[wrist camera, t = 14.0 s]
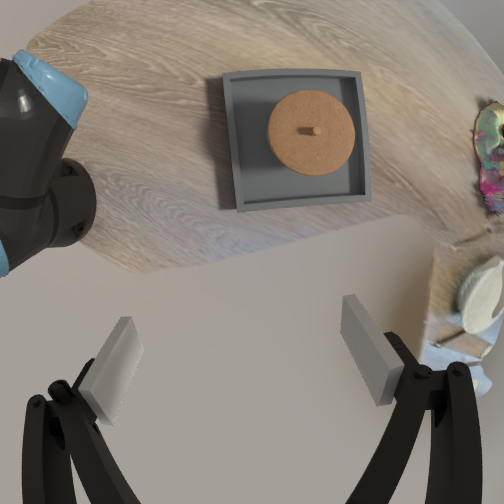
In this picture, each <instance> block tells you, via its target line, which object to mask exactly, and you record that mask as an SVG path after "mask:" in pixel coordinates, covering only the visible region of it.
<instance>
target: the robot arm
mask: <svg viewBox="0 0 504 504" xmlns="http://www.w3.org/2000/svg"><path fill="white" fill-rule="evenodd" d="M12 59H13V60H11V61H10V60H7V59H4V58H0V278H1V277H5V276H6V275H8V273H9V272H10V271H12V270H13V269H14V268H16V267H17V266H19V265H20V264H22V263H23V262H25V261H26V260H28V259H29V258H31V257H32V256H34V255H36V254H37V253H39V252H40V251H42V250H43V249H45V248H50V247H51V248H52V247H65V246H69V245H72V244H74V243H75V242H77V241H79V240H80V239H82V238H83V237H84V236H85V235H86V234H87V233H88V231H89V230H90V228H91V226H92V224H93V221H94V218H95V213H96V193H95V189H94V185H93V182H92V180H91V178H90V176H89V174H88V172H87V171H86V170H85V168H84V167H83V166H82V165H80V164H79V163H78V162H76V161H74V160H72V159H69V158H62V156H63V153H64V151H65V149H66V147H67V144H68V142H69V140H70V138H71V136H72V134H73V132H74V130H76V129H77V123H78V121H79V118H80V116H81V114H82V112H83V110H84V108H85V106H86V104H87V101H88V93H87V90H86V88H85V87H84V86H82V85H81V84H79V83H78V82H76V81H75V80H73V79H72V78H70V77H68V76H67V75H65V74H63V73H62V72H60V71H58V70H57V69H55V68H53V67H52V66H50V65H48V64H47V63H45V62H43V61H42V60H40V59H38V58H37V57H35V56H33V55H31V54H30V53H28V52H26V51H24V50H19V51H18V52H17V53H16V54H14V55H13V57H12ZM340 333H341V335H342V336H343V338H344V340H345V342H346V344H347V346H348V348H349V350H350V352H351V354H352V356H353V358H354V360H355V362H356V364H357V366H358V368H359V370H360V372H361V375H362V377H363V378H364V381H365V383H366V385H367V387H368V389H369V391H370V393H371V395H372V397H373V399H374V401H375V404H376V406H377V408H379V407H382V406H385V405H389V404H391V403H392V400H393V397H395V399H396V401H397V403H396V406H395V408H394V411H393V413H392V416H391V418H390V421H389V423H388V425H387V427H386V430H385V432H384V434H383V437H382V439H381V441H380V443H379V445H378V447H377V449H376V451H375V453H374V455H373V457H372V459H371V461H370V462H369V464H368V466H367V468H366V470H365V472H364V473H363V475H362V477H361V479H360V480H359V482H358V484H357V486H356V487H355V489H354V491H353V492H352V494H351V495H350V497H349V498H348V500H347V502H346V503H345V504H388V503H389V501H390V499H391V497H392V495H393V493H394V491H395V489H396V487H397V485H398V483H399V480H400V478H401V476H402V474H403V471H404V469H405V467H406V464H407V462H408V459H409V457H410V454H411V452H412V449H413V446H414V443H415V441H416V438H417V435H418V432H419V429H420V426H421V423H422V419H423V416H424V413H425V410H431V451H430V466H429V477H428V486H427V493H426V500H425V504H481V502H482V447H481V435H480V426H479V418H478V410H477V405H476V398H475V392H474V387H473V382H472V377H471V373H470V369H469V367H468V366H467V365H466V364H464V363H462V362H458V361H456V362H452V363H450V364H449V366H448V367H447V370H441V371H432V369H431V368H429V367H428V366H426V365H422V364H419V363H418V362H417V360H416V359H415V357H414V356H413V355H412V353H411V352H410V351H409V349H408V348H407V347H406V345H405V344H404V343H403V341H402V340H401V339H400V337H399V336H398V335H396V334H394V333H393V332H387V333H382V331H381V330H380V328H379V327H378V326H377V324H376V323H375V321H374V320H373V319H372V318H371V316H370V315H369V314H368V312H367V310H366V309H365V308H364V306H363V305H362V304H361V303H360V301H359V300H358V298H357V297H356V296H355V294H353V295H347V296H343V305H342V319H341V332H340ZM143 351H144V350H143V347H142V344H141V342H140V339H139V337H138V334H137V331H136V328H135V325H134V323H133V320H132V317H121V318H120V320H119V321H118V323H117V324H116V326H115V327H114V329H113V331H112V332H111V334H110V336H109V337H108V339H107V340H106V342H105V344H104V345H103V347H102V348H101V350H100V352H99V353H98V355H97V357H96V358H92V359H90V360H89V361H88V362H87V363H86V364H85V366H84V367H83V369H82V371H81V372H80V374H79V376H78V377H77V379H76V381H75V383H74V384H73V386H72V388H70V386H69V384H68V383H67V382H66V381H65V380H57V381H55V382H53V383H52V384H51V385H50V386H49V388H48V393H49V395H50V396H51V398H52V399H53V400H51V401H47V400H46V399H45V398H44V397H43V396H42V395H40V394H39V395H34V396H33V397H31V398H30V399H29V401H28V404H27V409H26V416H25V425H24V435H23V448H22V497H23V504H77V503H76V497H75V491H74V485H73V477H72V469H71V460H70V455H71V457H72V460H73V463H74V466H75V468H76V471H77V473H78V476H79V478H80V480H81V482H82V485H83V487H84V490H85V492H86V494H87V496H88V498H89V500H90V502H91V504H141V503H140V502H139V500H138V499H137V497H136V496H135V494H134V493H133V491H132V489H131V488H130V486H129V485H128V483H127V482H126V480H125V478H124V476H123V475H122V473H121V471H120V469H119V468H118V466H117V464H116V462H115V460H114V458H113V457H112V455H111V453H110V451H109V449H108V447H107V445H106V443H105V441H104V439H103V437H102V434H101V432H100V430H99V428H98V426H97V424H96V423H95V421H96V419H97V418H98V419H99V420H100V422H101V423H102V424H106V425H112V426H114V424H115V421H116V418H117V416H118V413H119V411H120V408H121V405H122V402H123V400H124V397H125V395H126V392H127V390H128V387H129V385H130V382H131V380H132V378H133V375H134V373H135V370H136V368H137V365H138V363H139V361H140V358H141V356H142V353H143Z"/></svg>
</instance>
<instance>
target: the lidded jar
mask: <svg viewBox="0 0 504 504" xmlns="http://www.w3.org/2000/svg"><path fill="white" fill-rule="evenodd" d="M267 139H268V143H269V146H270V148H271V151H272V152H273V154H274V155H275V157H276V158H277V159H278V160H279V161H280V162H281V163H282V164H283V165H285V166H286V167H287V168H289V169H290V170H292V171H294V172H297V173H299V174H303V175H308V176H321V175H326V174H329V173H331V172H333V171H335V170H337V169H338V168H340V167H341V166H342V165H343V164H344V163H345V162H346V161H347V159H348V158H349V156H350V154H351V152H352V150H353V146H354V142H355V129H354V125H353V121H352V119H351V116H350V114H349V113H348V111H347V110H346V108H345V107H344V106H343V105H342V104H341V103H340V102H339V101H338V100H337V99H336V98H334V97H333V96H331V95H329V94H327V93H325V92H322V91H318V90H311V89H305V90H298V91H295V92H292V93H290V94H288V95H286V96H285V97H284V98H282V99H281V100H280V101H279V102H278V103H277V104H276V105H275V107H274V108H273V110H272V112H271V114H270V116H269V120H268V124H267Z"/></svg>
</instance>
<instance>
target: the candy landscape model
mask: <svg viewBox="0 0 504 504" xmlns="http://www.w3.org/2000/svg"><path fill="white" fill-rule="evenodd" d="M473 141H474V148H475V151H476V154H477V155H478V157H479V160H480V162H481V170H480V190H481V191H483V193H484V194H485V195H482V196H485V198H484V199H485V200H486V201H488V202H485V201H484V202H485V203H486V204H489V205H488V206H486V207H489V206H491V207H490V208H492V209H490V208H489V209H490V210H491V211H494V210H495V212H496V214H497V215H498V216H500V217H502V216H504V106H503V105H502V104H499V103H492V104H489V106H486V107H485V108H484V110H482V111H480V115H479V116H478V119H477V120H476V124H475V132H474V139H473Z"/></svg>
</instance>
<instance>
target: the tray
mask: <svg viewBox="0 0 504 504" xmlns="http://www.w3.org/2000/svg"><path fill="white" fill-rule="evenodd" d="M222 76H223V86H224V96H225V105H226V115H227V124H228V133H229V142H230V151H231V161H232V169H233V178H234V187H235V196H236V205H237V213H238V212H247V211H256V210H266V209H276V208H287V207H298V206H310V205H322V204H336V203H350V202H366V201H371V166H370V149H369V136H368V125H367V115H366V106H365V99H364V91H363V84H362V78H361V72H356V71H345V70H330V69H265V70H250V71H239V72H229V73H222ZM305 89H311V90H318V91H322V92H325V93H327V94H329V95H331V96H333V97H334V98H336V99H337V100H338V101H339V102H340V103H341V104H342V105H343V106H344V107H345V108H346V110H347V111H348V113H349V114H350V116H351V119H352V121H353V125H354V129H355V142H354V146H353V150H352V152H351V154H350V156H349V158H348V159H347V161H346V162H345V163H344V164H343V165H342V166H341V167H340V168H338V169H337V170H335V171H333V172H331V173H329V174H326V175H321V176H308V175H303V174H299V173H297V172H294V171H292V170H290V169H289V168H287V167H286V166H285V165H283V164H282V163H281V162H280V161H279V160H278V159H277V158H276V157H275V155H274V154H273V152H272V151H271V148H270V146H269V143H268V139H267V124H268V120H269V116H270V114H271V112H272V110H273V108H274V107H275V105H276V104H277V103H278V102H279V101H280V100H281V99H282V98H284V97H285V96H286V95H288V94H290V93H292V92H295V91H298V90H305Z"/></svg>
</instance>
